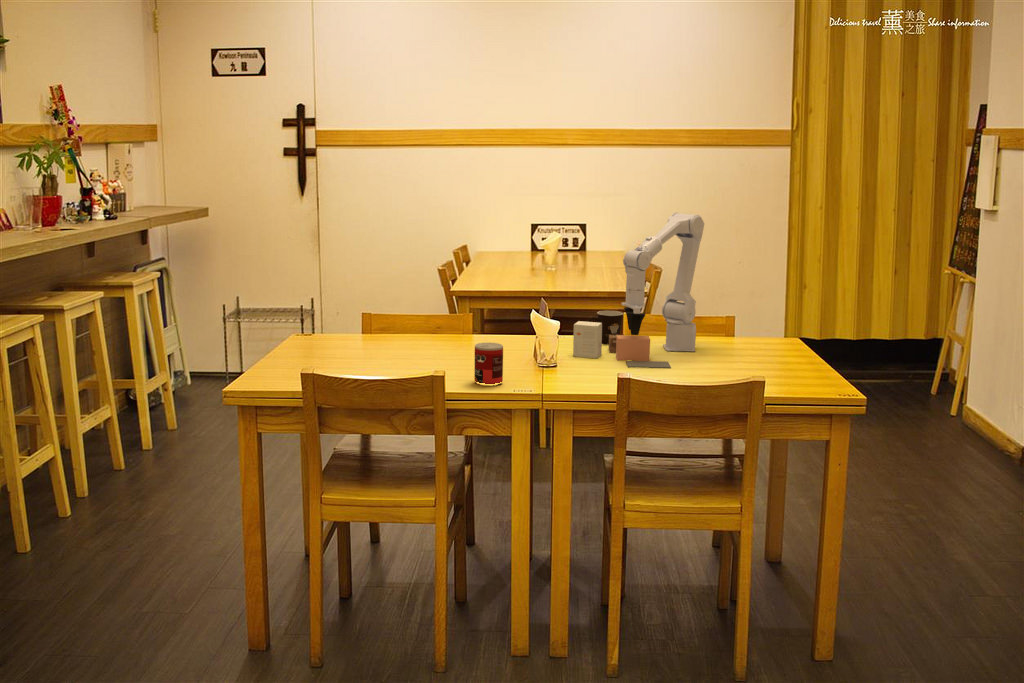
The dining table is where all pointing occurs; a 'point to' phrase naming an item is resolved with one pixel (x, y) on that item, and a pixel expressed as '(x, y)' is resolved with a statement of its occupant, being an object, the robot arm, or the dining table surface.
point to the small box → (587, 339)
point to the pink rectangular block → (633, 348)
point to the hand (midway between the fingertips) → (633, 332)
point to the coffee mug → (609, 323)
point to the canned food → (488, 363)
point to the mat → (649, 364)
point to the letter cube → (612, 343)
